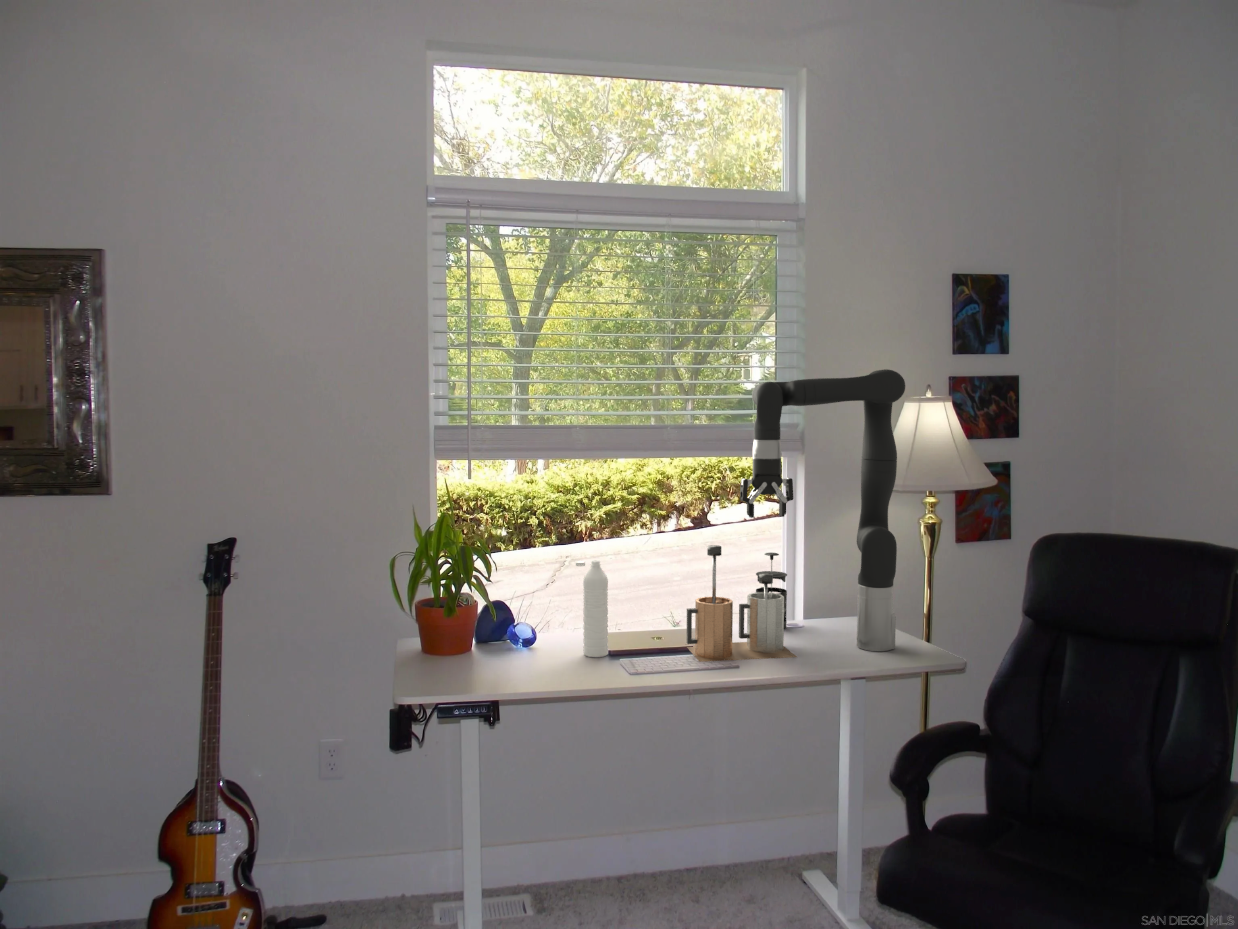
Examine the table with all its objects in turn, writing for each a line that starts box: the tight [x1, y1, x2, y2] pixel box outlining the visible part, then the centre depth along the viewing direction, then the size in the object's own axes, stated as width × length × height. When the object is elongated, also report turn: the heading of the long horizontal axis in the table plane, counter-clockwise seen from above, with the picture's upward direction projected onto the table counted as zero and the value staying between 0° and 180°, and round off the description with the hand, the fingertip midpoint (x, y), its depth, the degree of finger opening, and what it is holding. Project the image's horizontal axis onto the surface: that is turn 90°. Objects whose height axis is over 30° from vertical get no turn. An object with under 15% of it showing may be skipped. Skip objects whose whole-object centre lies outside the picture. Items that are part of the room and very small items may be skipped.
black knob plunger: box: [706, 544, 722, 604], centre depth 226 cm, size 7×7×16 cm
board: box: [686, 641, 798, 663], centre depth 230 cm, size 26×16×1 cm, turn 99°
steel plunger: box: [758, 573, 774, 599], centre depth 231 cm, size 7×7×16 cm
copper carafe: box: [686, 596, 734, 659], centre depth 226 cm, size 12×9×14 cm
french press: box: [755, 552, 788, 630], centre depth 255 cm, size 12×9×23 cm
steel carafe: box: [738, 592, 785, 653], centre depth 232 cm, size 12×9×14 cm
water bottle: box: [575, 560, 609, 658], centre depth 229 cm, size 9×6×25 cm
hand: (766, 517), depth 234 cm, fingers open, 8 cm apart
